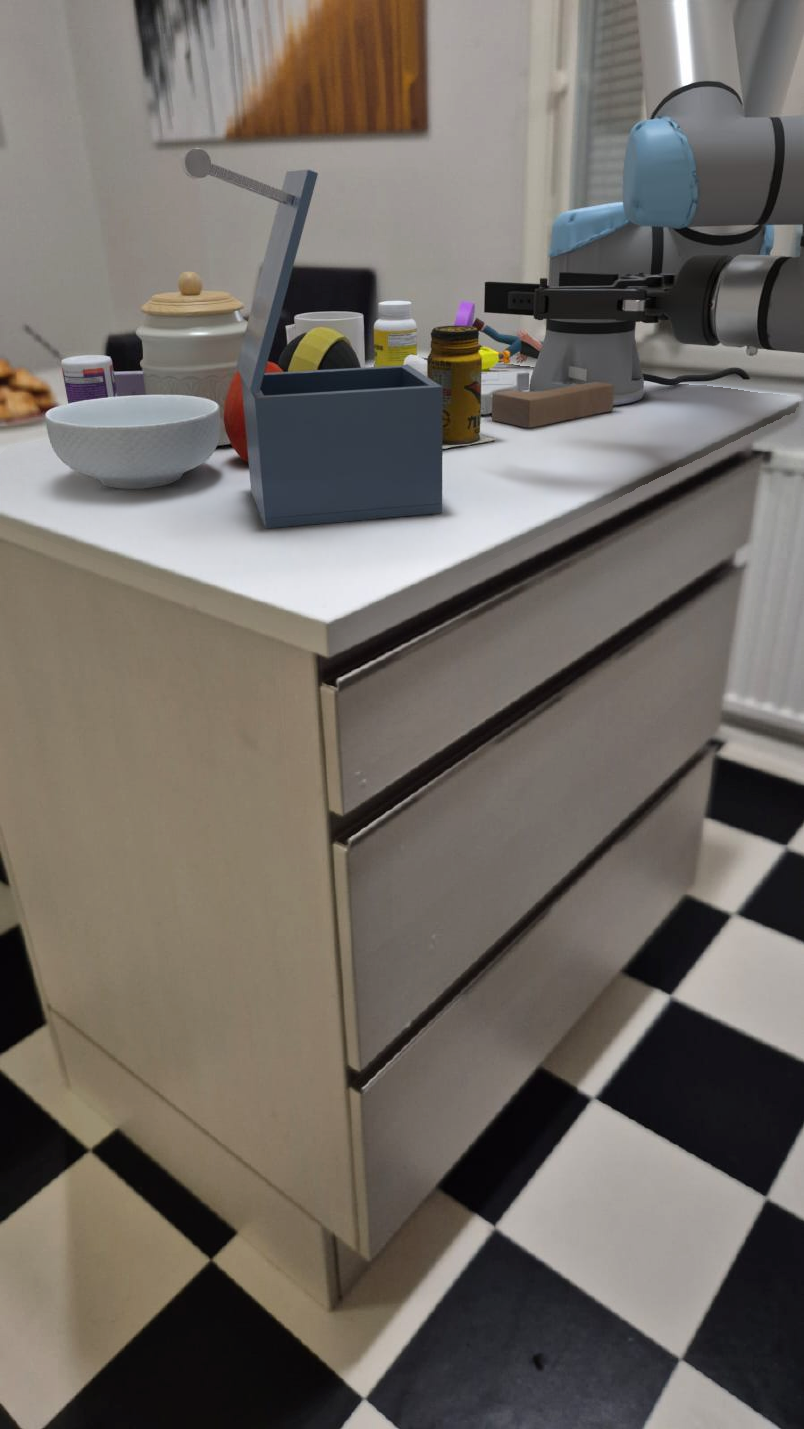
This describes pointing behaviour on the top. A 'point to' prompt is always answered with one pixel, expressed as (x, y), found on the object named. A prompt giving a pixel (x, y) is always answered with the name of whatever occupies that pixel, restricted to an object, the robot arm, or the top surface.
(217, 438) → the cereal bowl
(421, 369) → the pincushion
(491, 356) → the toy figure
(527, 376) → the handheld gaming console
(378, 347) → the pill bottle
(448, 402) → the condiment
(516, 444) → the top surface
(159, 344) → the jar
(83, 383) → the pill bottle
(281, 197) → the lid
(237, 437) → the apple
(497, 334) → the figurine
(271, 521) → the blue-grey open box
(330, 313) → the mug
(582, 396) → the wooden block
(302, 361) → the bomb
